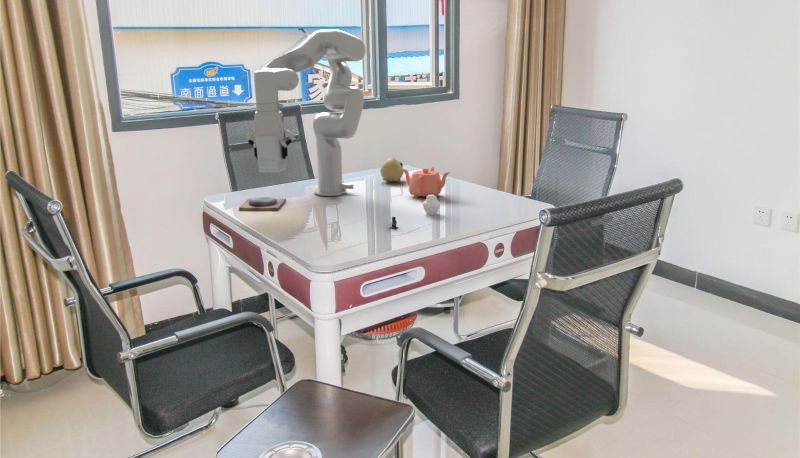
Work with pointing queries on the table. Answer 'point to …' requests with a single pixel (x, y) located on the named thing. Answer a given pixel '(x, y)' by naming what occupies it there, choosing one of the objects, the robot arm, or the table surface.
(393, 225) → the sculpture
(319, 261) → the table surface
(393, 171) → the pale yellow rounded lump
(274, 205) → the brown square board
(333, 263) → the table surface
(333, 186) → the robot arm
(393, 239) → the table surface
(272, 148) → the supplement box
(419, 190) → the teapot
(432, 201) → the muffin
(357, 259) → the table surface
